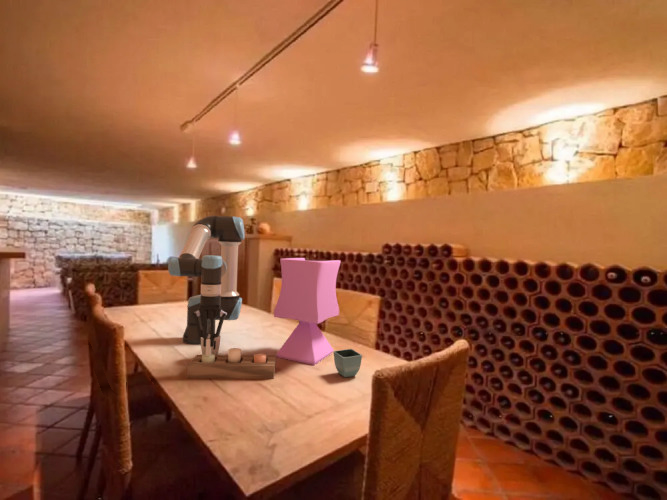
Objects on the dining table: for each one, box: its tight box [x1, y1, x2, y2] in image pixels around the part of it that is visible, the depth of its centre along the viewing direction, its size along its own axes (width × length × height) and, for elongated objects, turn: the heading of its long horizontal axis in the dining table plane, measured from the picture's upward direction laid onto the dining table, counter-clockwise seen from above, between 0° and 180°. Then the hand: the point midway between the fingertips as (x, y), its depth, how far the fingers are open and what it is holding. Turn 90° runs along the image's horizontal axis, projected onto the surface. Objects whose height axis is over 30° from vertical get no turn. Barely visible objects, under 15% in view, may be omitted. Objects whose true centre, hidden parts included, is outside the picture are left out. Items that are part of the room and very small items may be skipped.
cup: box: [200, 334, 221, 355], centre depth 147 cm, size 8×8×10 cm
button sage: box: [201, 353, 215, 363], centre depth 133 cm, size 5×5×5 cm
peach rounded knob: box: [227, 347, 242, 363], centre depth 134 cm, size 5×5×5 cm
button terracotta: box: [253, 353, 267, 363], centre depth 135 cm, size 5×5×5 cm
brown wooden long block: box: [186, 354, 277, 380], centre depth 134 cm, size 12×32×5 cm, turn 96°
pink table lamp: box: [273, 257, 341, 366], centre depth 158 cm, size 22×22×45 cm
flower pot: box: [333, 348, 363, 378], centre depth 136 cm, size 9×9×9 cm
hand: (208, 354), depth 133 cm, fingers closed
